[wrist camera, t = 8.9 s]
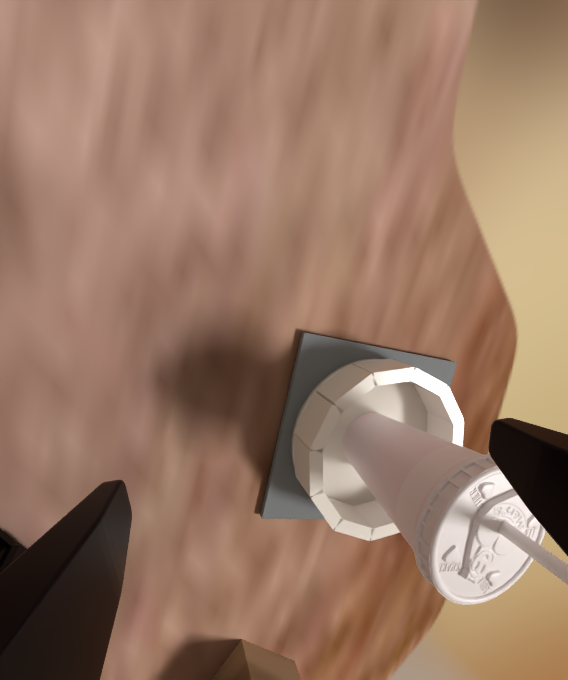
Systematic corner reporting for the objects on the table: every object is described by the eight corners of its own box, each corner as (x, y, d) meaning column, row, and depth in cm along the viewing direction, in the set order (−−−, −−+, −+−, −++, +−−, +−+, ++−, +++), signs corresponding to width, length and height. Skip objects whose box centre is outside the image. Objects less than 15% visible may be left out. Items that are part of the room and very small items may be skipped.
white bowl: (339, 538, 26) (362, 571, 23) (259, 425, 22) (275, 447, 19) (450, 444, 28) (484, 463, 25) (392, 326, 24) (424, 333, 21)
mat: (410, 515, 28) (414, 518, 28) (260, 514, 24) (262, 518, 23) (452, 361, 27) (456, 362, 26) (302, 331, 23) (304, 332, 22)
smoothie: (425, 420, 26) (706, 573, 13) (374, 500, 25) (608, 741, 12) (360, 374, 23) (624, 502, 10) (303, 460, 23) (500, 706, 10)
